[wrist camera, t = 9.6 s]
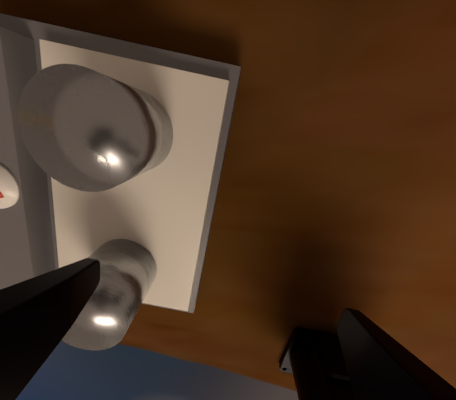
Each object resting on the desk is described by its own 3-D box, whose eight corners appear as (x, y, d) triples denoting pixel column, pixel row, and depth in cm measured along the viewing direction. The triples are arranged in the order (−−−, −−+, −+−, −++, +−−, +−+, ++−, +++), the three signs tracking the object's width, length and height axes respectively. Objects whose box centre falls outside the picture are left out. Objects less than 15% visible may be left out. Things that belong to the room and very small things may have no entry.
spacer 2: (154, 296, 18) (124, 356, 13) (95, 284, 18) (44, 342, 13) (159, 245, 16) (127, 294, 12) (94, 232, 16) (35, 277, 11)
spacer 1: (170, 176, 14) (138, 200, 10) (95, 164, 14) (26, 181, 9) (176, 96, 13) (143, 76, 8) (92, 81, 13) (8, 52, 8)
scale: (198, 293, 22) (187, 336, 17) (41, 263, 21) (-11, 300, 17) (240, 75, 15) (241, 54, 11) (13, 25, 15) (-85, -19, 10)
